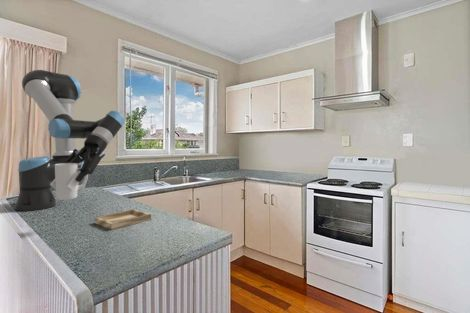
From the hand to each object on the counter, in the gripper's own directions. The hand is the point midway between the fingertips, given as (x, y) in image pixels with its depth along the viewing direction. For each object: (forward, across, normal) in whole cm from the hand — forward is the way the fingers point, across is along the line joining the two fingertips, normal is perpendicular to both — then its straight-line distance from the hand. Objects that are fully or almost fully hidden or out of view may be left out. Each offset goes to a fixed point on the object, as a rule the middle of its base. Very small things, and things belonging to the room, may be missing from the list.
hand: (61, 187), depth 90 cm
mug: (+1, -1, -6) cm, 6 cm away
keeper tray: (0, -14, -20) cm, 24 cm away
